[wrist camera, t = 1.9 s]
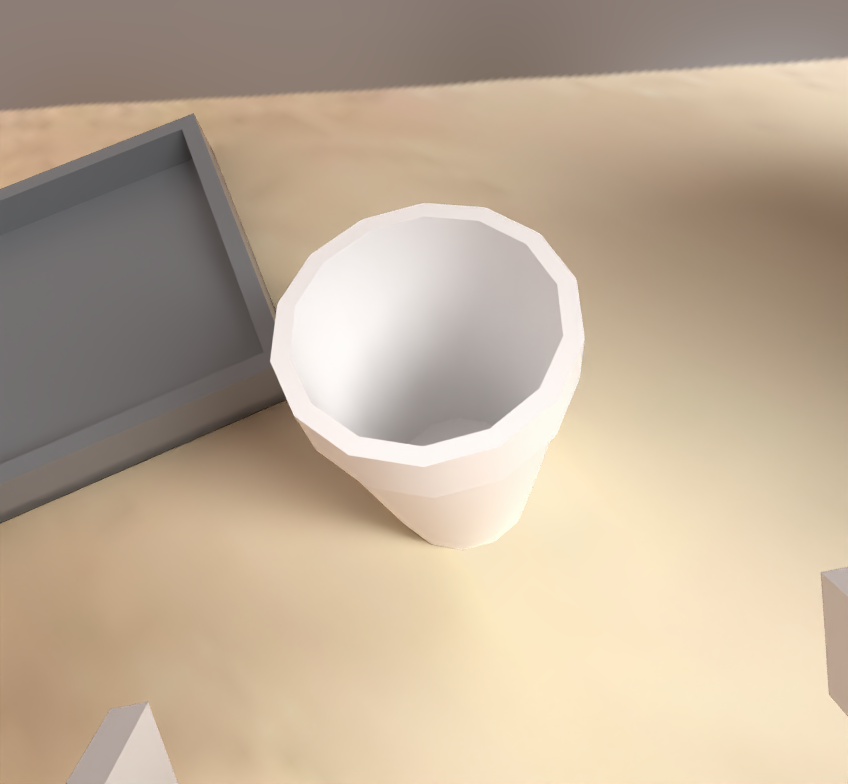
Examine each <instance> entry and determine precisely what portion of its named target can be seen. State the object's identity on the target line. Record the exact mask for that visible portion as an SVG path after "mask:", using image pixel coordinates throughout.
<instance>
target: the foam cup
mask: <svg viewBox="0 0 848 784" xmlns="http://www.w3.org/2000/svg"><path fill="white" fill-rule="evenodd" d="M584 340H585V337H584V329H583V322H582V315H581V307H580V300H579V292H578V285H577V279H576V278H575V276H574V275H573V274H572V273H571V271H570V270H569V269H568V268H567V266H566V265H565V264H564V263H563V261H562V260H561V259H560V258H559V256H558V255H557V254H556V252H555V251H554V250H553V249H552V247H551V246H550V245H549V244H548V242H547V241H546V240H545V239H544V237H543V236H542V235H541V234H540V233H538V232H536V231H534V230H532V229H530V228H528V227H526V226H524V225H522V224H520V223H517V222H515V221H513V220H511V219H509V218H507V217H505V216H503V215H501V214H499V213H497V212H495V211H492V210H490V209H488V208H486V207H475V206H461V205H447V204H433V203H420V204H417V205H413V206H409V207H405V208H402V209H398V210H394V211H391V212H387V213H383V214H379V215H376V216H372V217H368V218H364V219H361V220H360V221H358V222H357V223H355V224H354V225H353V226H351V227H350V228H348V229H347V230H345V231H344V232H342V233H341V234H339V235H338V236H336V237H335V238H334V239H332V240H331V241H329V242H328V243H326V244H325V245H323V246H322V247H320V248H319V249H317V250H316V251H315V252H313V253H312V254H310V256H309V257H308V259H307V260H306V262H305V263H304V265H303V266H302V268H301V269H300V271H299V272H298V274H297V275H296V277H295V278H294V280H293V281H292V283H291V284H290V286H289V287H288V289H287V290H286V292H285V293H284V295H283V296H282V298H281V299H280V301H279V302H278V304H277V309H276V317H275V325H274V334H273V342H272V350H271V358H270V362H271V365H272V367H273V369H274V371H275V374H276V376H277V378H278V381H279V383H280V385H281V387H282V390H283V392H284V394H285V396H286V399H287V401H288V403H289V406H290V408H291V410H292V412H293V415H294V417H295V418H296V420H297V421H298V423H299V424H300V426H301V427H302V429H303V431H304V432H305V434H306V435H307V437H308V438H309V440H310V441H311V443H312V445H313V446H314V448H315V449H316V450H317V451H318V452H319V453H321V454H322V455H323V456H325V457H326V458H328V459H329V460H330V461H332V462H333V463H334V464H336V465H337V466H338V467H340V468H341V469H343V470H344V471H345V472H347V473H348V474H349V475H351V476H352V477H353V478H355V479H356V480H358V481H359V482H360V483H361V484H362V485H363V486H364V487H365V488H366V489H367V490H368V491H369V492H371V493H372V494H373V495H374V496H375V497H376V498H377V499H378V500H379V501H380V502H381V503H382V504H383V505H384V506H385V507H387V508H388V509H389V510H390V511H391V512H392V513H393V514H394V515H395V516H396V517H397V518H398V519H399V520H400V521H401V522H403V523H404V524H405V525H406V526H407V527H409V528H410V529H411V530H413V531H414V532H415V533H417V534H418V535H419V536H421V537H422V538H424V539H425V540H426V541H428V542H429V543H430V544H432V545H437V546H443V547H448V548H454V549H459V550H466V549H469V548H473V547H477V546H481V545H484V544H488V543H492V542H495V541H496V540H497V539H498V538H499V537H500V536H502V535H503V534H504V533H505V532H506V531H507V530H509V529H510V528H511V527H512V526H513V525H514V524H516V523H517V522H518V521H519V518H520V516H521V514H522V511H523V509H524V507H525V504H526V502H527V500H528V497H529V495H530V493H531V490H532V488H533V485H534V482H535V480H536V477H537V474H538V472H539V469H540V466H541V464H542V461H543V458H544V456H545V453H546V450H547V448H548V445H549V442H550V440H552V439H553V438H554V437H555V436H556V434H557V432H558V430H559V427H560V425H561V423H562V420H563V418H564V416H565V413H566V411H567V408H568V406H569V404H570V401H571V399H572V397H573V394H574V392H575V390H576V387H577V385H578V382H579V380H580V373H581V365H582V357H583V348H584Z"/></svg>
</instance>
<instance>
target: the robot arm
mask: <svg viewBox="0 0 848 784" xmlns="http://www.w3.org/2000/svg"><path fill="white" fill-rule="evenodd" d="M821 581H822V597H823V612H824V627H825V643H826V658H827V673H828V688H829V695H830V696H831V697H832V699H833V700H834V701H835V702H836V703H837V704H838V706H839V707H840V708H841V709H842V710H843V711H844V713H845V714H846V715H847V716H848V567H846V568H841V569H835V570H830V571H825V572H821ZM66 784H178V782H177V779H176V777H175V774H174V771H173V768H172V766H171V763H170V760H169V757H168V755H167V752H166V749H165V747H164V744H163V741H162V738H161V736H160V733H159V730H158V727H157V725H156V722H155V719H154V716H153V714H152V711H151V708H150V705H149V703H148V702H144V703H139V704H134V705H129V706H123V707H118V708H113V709H110V710H109V712H108V714H107V715H106V717H105V719H104V720H103V722H102V724H101V725H100V727H99V729H98V730H97V732H96V734H95V736H94V737H93V739H92V741H91V742H90V744H89V746H88V747H87V749H86V751H85V752H84V754H83V756H82V757H81V759H80V761H79V762H78V764H77V766H76V768H75V769H74V771H73V773H72V774H71V776H70V778H69V779H68V781H67V783H66Z"/></svg>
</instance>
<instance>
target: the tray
mask: <svg viewBox="0 0 848 784" xmlns="http://www.w3.org/2000/svg"><path fill="white" fill-rule="evenodd" d="M275 317H276V311H275V308H274V306H273V303H272V301H271V298H270V296H269V293H268V290H267V288H266V285H265V283H264V280H263V278H262V275H261V273H260V270H259V268H258V265H257V263H256V260H255V257H254V255H253V252H252V250H251V247H250V245H249V242H248V240H247V237H246V235H245V232H244V229H243V227H242V224H241V222H240V219H239V217H238V214H237V212H236V209H235V207H234V204H233V201H232V199H231V196H230V194H229V191H228V189H227V186H226V184H225V181H224V179H223V176H222V173H221V171H220V168H219V166H218V163H217V161H216V158H215V156H214V153H213V151H212V149H211V147H210V145H209V143H208V141H207V139H206V137H205V135H204V133H203V131H202V129H201V127H200V125H199V123H198V121H197V119H196V117H195V115H194V113H193V114H191V115H188V116H186V117H183V118H181V119H178V120H176V121H173V122H170V123H168V124H165V125H163V126H160V127H158V128H155V129H153V130H150V131H147V132H145V133H142V134H140V135H137V136H135V137H132V138H130V139H127V140H125V141H122V142H119V143H117V144H114V145H112V146H109V147H107V148H104V149H102V150H99V151H96V152H94V153H91V154H89V155H86V156H84V157H81V158H79V159H76V160H74V161H71V162H68V163H66V164H63V165H61V166H58V167H56V168H53V169H51V170H48V171H45V172H43V173H40V174H38V175H35V176H33V177H30V178H28V179H25V180H22V181H20V182H17V183H15V184H12V185H10V186H7V187H5V188H2V189H0V523H2V522H5V521H7V520H9V519H12V518H14V517H16V516H19V515H21V514H23V513H25V512H28V511H30V510H32V509H35V508H37V507H39V506H42V505H44V504H46V503H49V502H51V501H53V500H55V499H58V498H60V497H62V496H65V495H67V494H69V493H72V492H74V491H76V490H78V489H81V488H83V487H85V486H88V485H90V484H92V483H95V482H97V481H99V480H102V479H104V478H106V477H108V476H111V475H113V474H115V473H118V472H120V471H122V470H125V469H127V468H129V467H132V466H134V465H136V464H138V463H141V462H143V461H145V460H148V459H150V458H152V457H155V456H157V455H159V454H162V453H164V452H166V451H168V450H171V449H173V448H175V447H178V446H180V445H182V444H185V443H187V442H189V441H192V440H194V439H196V438H198V437H201V436H203V435H205V434H208V433H210V432H212V431H215V430H217V429H219V428H222V427H224V426H226V425H228V424H231V423H233V422H235V421H238V420H240V419H242V418H245V417H247V416H249V415H252V414H254V413H256V412H258V411H261V410H263V409H265V408H268V407H270V406H272V405H275V404H277V403H279V402H281V401H284V400H286V396H285V394H284V392H283V390H282V387H281V385H280V383H279V381H278V378H277V376H276V374H275V371H274V369H273V367H272V365H271V362H270V358H271V350H272V342H273V334H274V325H275Z"/></svg>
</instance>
